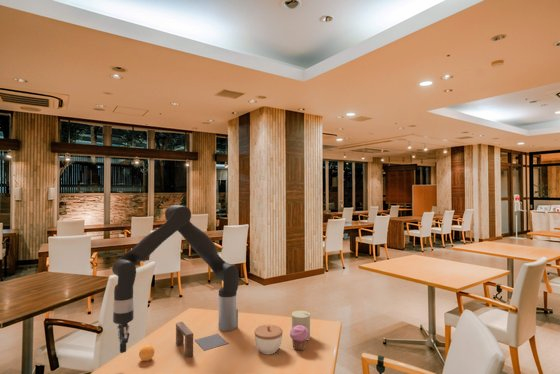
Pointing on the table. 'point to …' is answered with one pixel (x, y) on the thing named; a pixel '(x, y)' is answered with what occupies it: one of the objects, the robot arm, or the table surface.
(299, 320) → the can
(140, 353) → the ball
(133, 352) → the table surface
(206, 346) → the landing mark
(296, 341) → the cupcake
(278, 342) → the lidded bowl
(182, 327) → the bridge
